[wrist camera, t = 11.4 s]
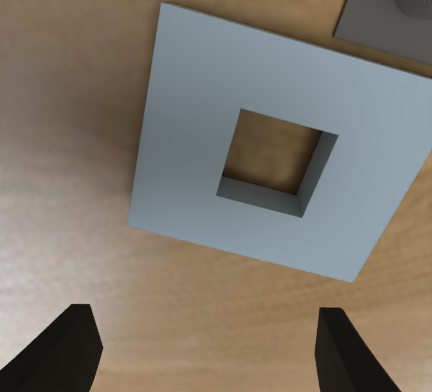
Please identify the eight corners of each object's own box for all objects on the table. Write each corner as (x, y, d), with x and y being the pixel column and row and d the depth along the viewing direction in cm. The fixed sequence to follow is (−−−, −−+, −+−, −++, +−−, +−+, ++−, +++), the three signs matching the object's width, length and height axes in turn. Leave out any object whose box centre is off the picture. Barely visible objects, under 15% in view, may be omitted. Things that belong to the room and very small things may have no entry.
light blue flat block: (139, 203, 21) (127, 226, 19) (173, 3, 16) (161, 2, 14) (341, 255, 22) (352, 283, 20) (437, 79, 17) (466, 89, 14)
